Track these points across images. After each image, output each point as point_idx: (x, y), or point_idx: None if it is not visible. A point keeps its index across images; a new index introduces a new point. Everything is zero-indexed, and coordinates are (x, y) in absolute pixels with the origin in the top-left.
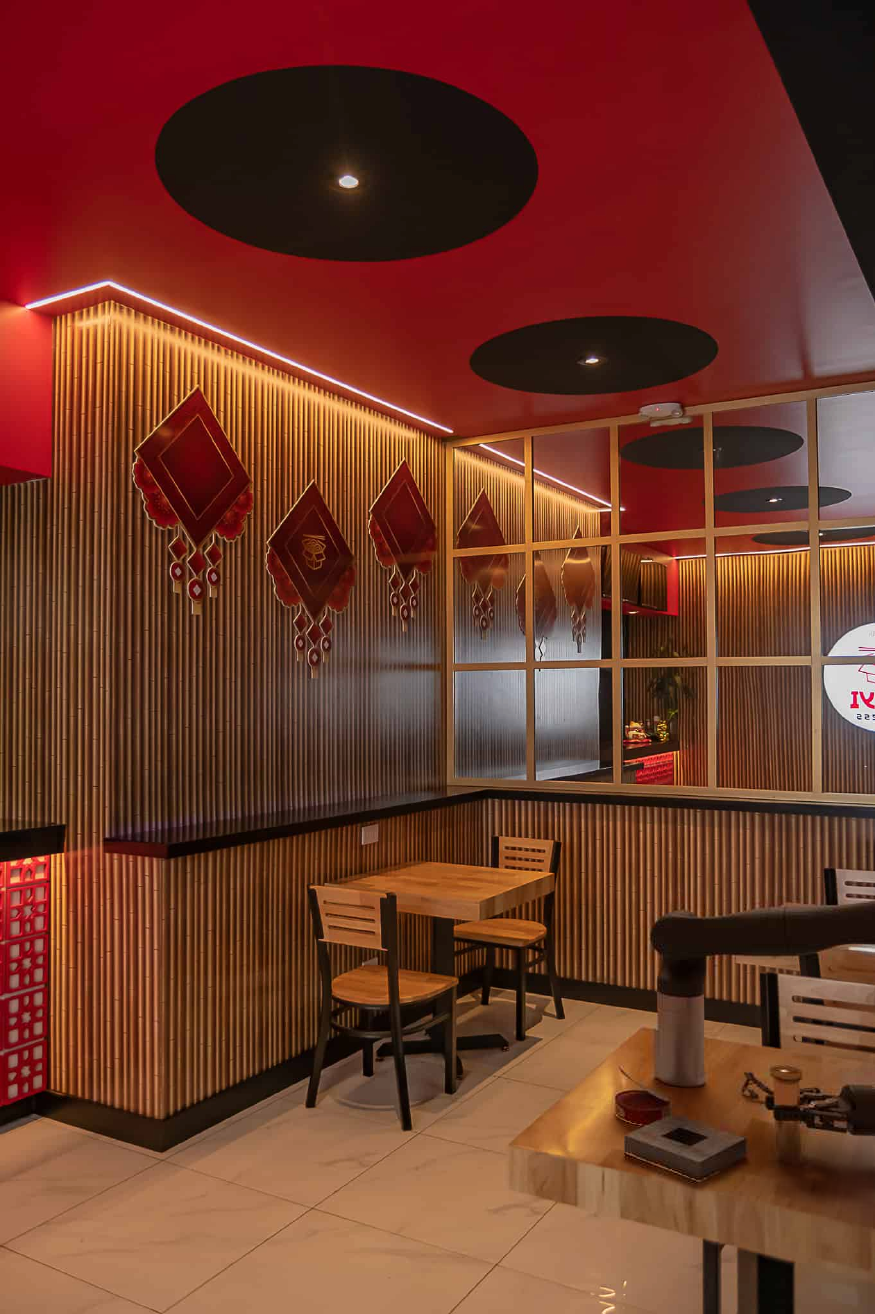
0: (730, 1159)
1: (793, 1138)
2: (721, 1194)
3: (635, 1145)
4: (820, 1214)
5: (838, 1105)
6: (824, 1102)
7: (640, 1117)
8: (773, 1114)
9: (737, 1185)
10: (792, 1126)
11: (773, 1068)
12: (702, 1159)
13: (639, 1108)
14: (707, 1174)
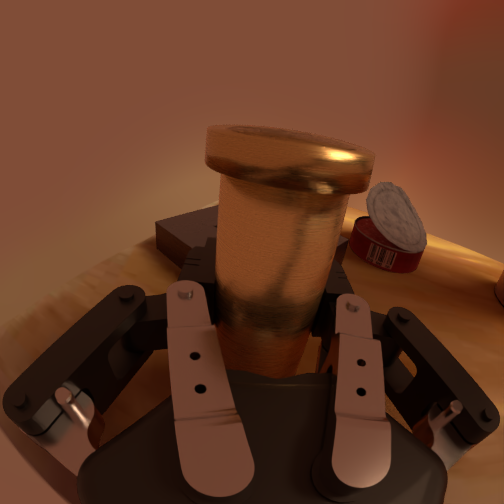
0: None
1: None
2: (117, 256)
3: None
4: (9, 332)
5: (193, 497)
6: (190, 387)
7: (352, 234)
8: None
9: (135, 278)
10: None
11: (303, 132)
12: (163, 225)
13: (360, 225)
14: (167, 251)
